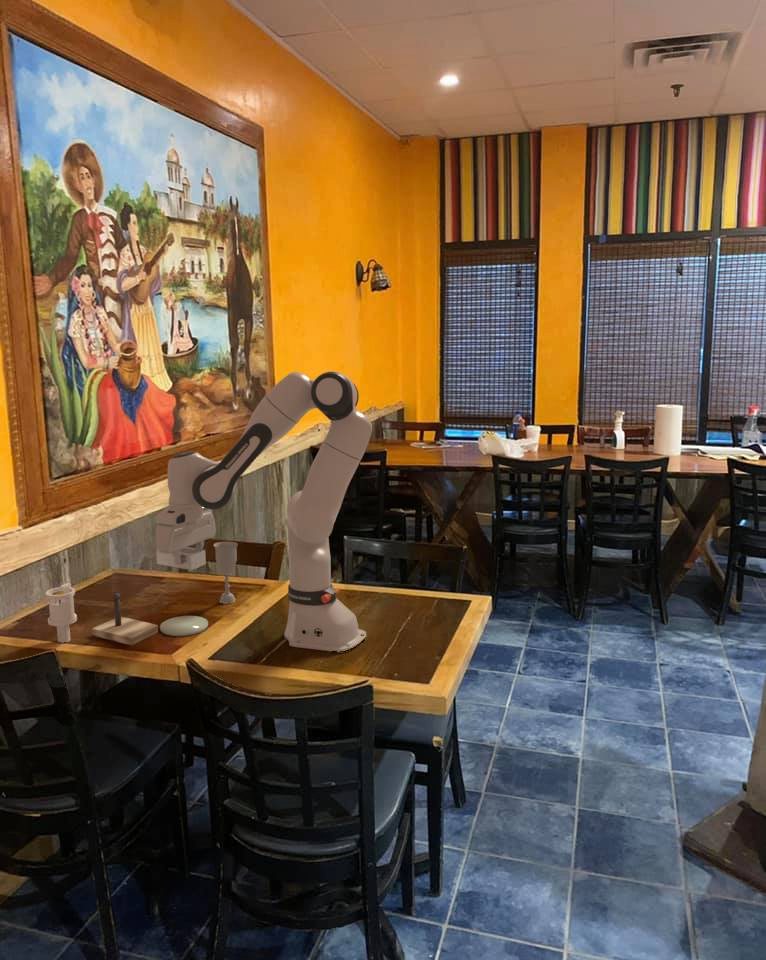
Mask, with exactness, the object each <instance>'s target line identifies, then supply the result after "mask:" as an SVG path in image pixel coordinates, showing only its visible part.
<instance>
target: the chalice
mask: <svg viewBox="0 0 766 960" xmlns="http://www.w3.org/2000/svg"><path fill="white" fill-rule="evenodd" d="M238 545H239V543H237V542H234V541H218V542H215V543H214V544H213V547H214V551H215V562H216V565H217V567H218V568H219V571H220V572H221V574H223V575H224V576H225V577H224V583H225V585H224V586H223V587H224V588H225V592H224V593H222V594H221V596H220V600H219V603H220V604H221V603H223V604H222V605H229V604H228V603H232V602H235V600H236V598H235V596H234V594H233V592H230V587H231V585H230V584H229V583H230V581H231V580H230V578H229V575H230V574H232V573H233V570H234V568H235V566H236V563H237V561H238V557H237V553H238V552H237V548H238ZM235 603H236V602H235ZM232 604H233V603H232Z"/></svg>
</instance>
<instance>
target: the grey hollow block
mask: <svg viewBox="0 0 766 960" xmlns="http://www.w3.org/2000/svg"><path fill="white" fill-rule="evenodd" d="M155 550H156V551H155V552H156V553H155V554H156V564H157V565H162V566H166V567H173V568H177V569H184V570H190V571H192V570H195V569H197V568H200V567H202V566H204V565H206V564H207V560H206V558H207V556H206V549H203V548H202V549H196V547H191V546H188V547H185V548H182V549H180V553H179V555H180V557H182V558H183V564H181V565H176V564H175V558H174V557H173V556H172V554H171V553H169V554H166V553H161V552H159V551H158V550H157V549H155Z"/></svg>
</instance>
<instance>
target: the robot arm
mask: <svg viewBox="0 0 766 960" xmlns="http://www.w3.org/2000/svg"><path fill="white" fill-rule="evenodd" d="M359 396H360V395H359V389H358V388H357V386H356V385H355V383H354V382H353V381H352V380H351V378H350V377H348V376H347V375H345V374H343V373H340V372H337V371H326V372H323V373H321V374H320V375H318V376H317V377H316V378H315V379H312V378H310V377H309V376H307V374H305V373H302V372H299V371H298V372H297V371H293V372H290V373H288V374H287V375H286V376H284V377H283V378H282V379H280V381H279V382H277V383H276V384H275V385H273V387H272V388H271V389H270V390H269V391H268V392H267V393H266V394H265V395H264V397H263V398H262V399H261V400H260V402H259V403H258V404H257V406H256V407H255V409H254V411H253V412H252V414H251V416H250V418H249V420H248V422H247V425H246V426H245V429H244V431H243V433H242V434H241V436H240V438H238V441H237V442H236V443H235V444H234V445H233V447H232V448H231V449H230V450H229V451H228V452H227V454H226V455H225V456H224V457H223V458H222V460H221V461H218V462H217V461H216V460H211V459H209V458H207V457H205V456H202V455H201V454H200V453H199V452H198V451H194V450H187V451H183V452H179V453H176V454H174V455H173V456H171V458H170V459H169V460H168V463H167V487H168V490H169V497H168V505H167V506H166V507H165V508H164V509H163V510H161V511H160V512H159V513H157V514H156V516H155V523H156V524H157V526H156V528H155V545H156V546H155V547H156V550H158V551H159V552H161V553H166V554H169V553H171V554H172V556H173V557H174V558H175V564H176V565H181V564H183V558H182V557H180V555H179V553H180V549H182V548H185V547H191V546H193V545H195V548H196V549H202V550H203V549H204V546H205V541H206V540H209V539H211V538H214V537H215V536H216V532H217V531H216V521H215V517H214V514H213V510H219V509H221V508H224V507H225V506H227V504H228V503H229V502H230V500H231V498H232V494H233V493H234V491H235V489H236V488H237V484H238V481H239V479H240V477H241V476H242V475H243V474H244V473H245V472H246V470H247V469H248V468H249V467H250V466H251V465H252V464H253V462H255V460H256V459H257V458H258V457H259V456H260V455H261V454H262V453H263V452H265V451H266V450H267V449H269V448H271V446H273V445H274V444H275V443H277V442H278V441H280V440H281V439H282V438H284V437H285V436H286V435H287V434H288V433H289V432H290V431H292V429H294V427H295V426H296V425H297V424H298V423H299V422H300V421H301V419H302V418H303V417H304V416H305V415H306V414H307V413H309V411H312V410H313V409H314V410H315V409H318V410H319V411H320V412H321V413H322V414H323V415H324V416H325V417H326V418H327V419H328V420H329V421H330V427H329V430H328V431H327V434H326V435H325V438H324V440H323V441H322V444H321V446H320V447H319V449H318V452H317V454H316V456H315V458H314V459H313V462H312V463H311V465H310V468H309V470H308V474H307V477H306V481H305V483H304V485H303V489H302V490H299V491H297V492H296V493H294V494H292V496H291V497H290V499H289V501H288V503H287V506H286V528H287V544H288V556H289V557H288V560H289V562H288V563H289V565H288V566H289V584H288V585H287V599H288V602H289V604H288V605H289V607H288V616H287V623H286V628H285V629H284V630H285V631H284V634H283V635H284V638H285V639H286V640H287V641H288V645H289V646H290V647H294V648H302V649H309V650H317V651H318V650H319V651H326V652H332V651H337V652H336V653H341V652H340V651H345V650H348V649H350V648H353V647H354V646H356V645H357V644H359V643H360V642H361V641H362V640H363V639H364V638H365V637H366V638H367V631H365V630H364V629H360V628H359V623H358V620H357V616H356V614H355V613H354V612H353V611H351V610H350V609H349V608H348V607H347V606H346V605H345V604H343V602H341V601H340V600H339V599H338V598H337V594H338V593H340V588H336V589H335V588H334V587H333V584H332V583H331V581H332V579H331V577H332V575H331V569H332V567H331V564H332V563H331V551H330V542H329V541H330V540H329V537H330V536H331V534H332V532H333V530H334V529H333V528H334V524H335V522H336V519H337V517H338V514H339V512H340V510H341V507H342V504H343V500H344V498H345V495H346V493H347V490H348V487H349V485H350V483H351V480H352V478H353V476H354V475H355V473H356V471H357V468H358V466H359V464H360V462H361V460H362V459H363V456H364V454H365V452H366V449H367V448H368V445H369V442H370V438H371V435H372V432H373V424H372V422H371V420H370V418H369V417H368V416H367V415H366V414H364V413H362V412H360V411H359V410H358V409H357V405H358V403H359V398H360V397H359ZM361 635H364V636H361Z"/></svg>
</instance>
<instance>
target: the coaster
mask: <svg viewBox="0 0 766 960" xmlns="http://www.w3.org/2000/svg"><path fill="white" fill-rule="evenodd" d="M208 627H209V621H208V619H206V618H204V617H202V616H197V615H181V616H174V617H172V618H168V619H166V620H164V621H163V622H161V623H160V625H159V630H160V632H161V633H162V634H163V635H165V636H170V637H188V636H193V635H197V633H198V634H200V633H202V632H204V631H205V630H207V629H208ZM206 628H207V629H206Z"/></svg>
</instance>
